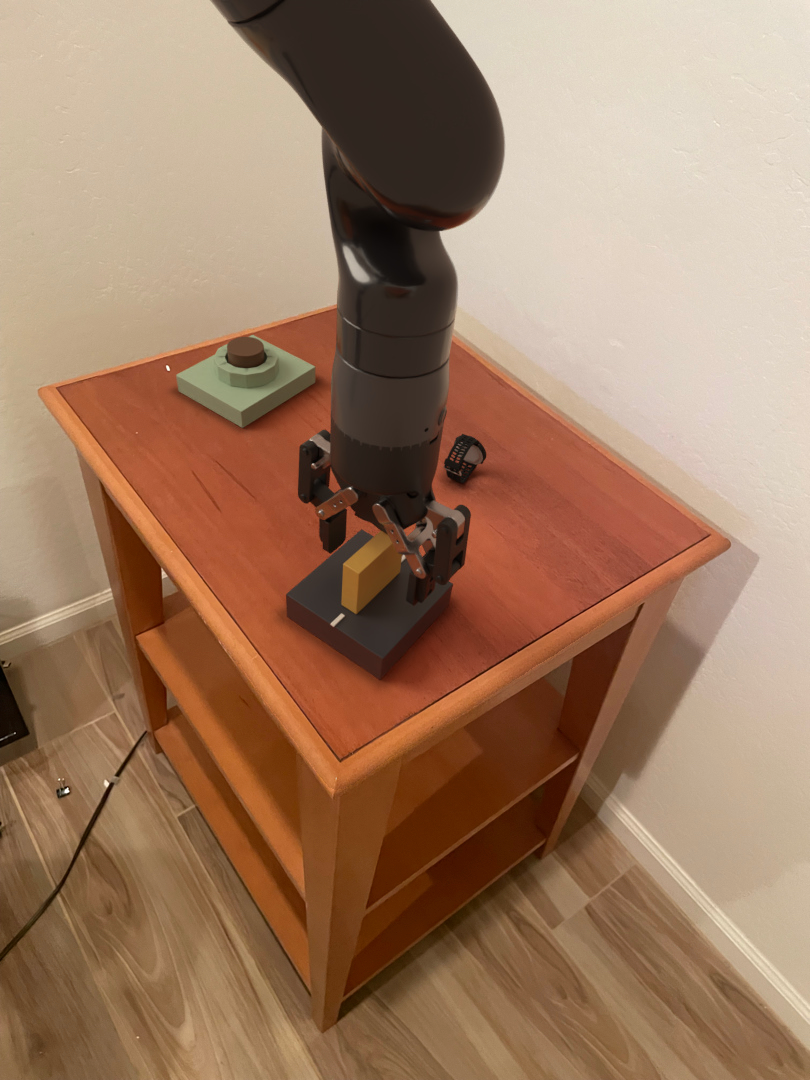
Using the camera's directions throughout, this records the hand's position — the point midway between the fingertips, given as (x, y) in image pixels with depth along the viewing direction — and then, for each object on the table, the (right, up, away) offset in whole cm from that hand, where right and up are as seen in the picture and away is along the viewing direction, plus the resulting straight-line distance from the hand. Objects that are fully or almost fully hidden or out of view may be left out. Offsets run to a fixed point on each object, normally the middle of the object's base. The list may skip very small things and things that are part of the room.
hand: (374, 571), depth 60 cm
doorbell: (-16, +20, +25) cm, 36 cm away
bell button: (-15, +23, +23) cm, 36 cm away
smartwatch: (+8, +9, +17) cm, 21 cm away
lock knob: (0, -1, +2) cm, 2 cm away
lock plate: (-1, -4, +4) cm, 5 cm away
